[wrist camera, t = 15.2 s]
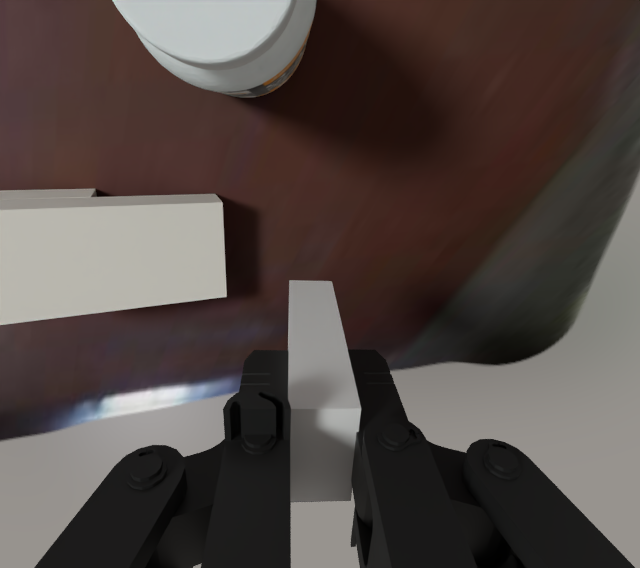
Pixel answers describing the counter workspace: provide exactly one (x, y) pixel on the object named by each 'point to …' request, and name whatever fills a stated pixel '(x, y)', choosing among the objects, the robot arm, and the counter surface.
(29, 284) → the domino
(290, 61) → the pill bottle
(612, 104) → the counter surface
